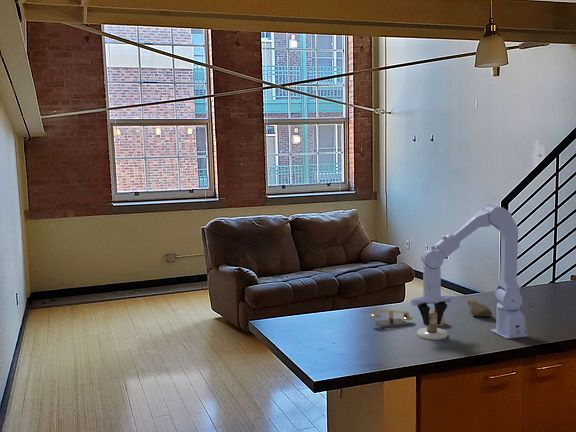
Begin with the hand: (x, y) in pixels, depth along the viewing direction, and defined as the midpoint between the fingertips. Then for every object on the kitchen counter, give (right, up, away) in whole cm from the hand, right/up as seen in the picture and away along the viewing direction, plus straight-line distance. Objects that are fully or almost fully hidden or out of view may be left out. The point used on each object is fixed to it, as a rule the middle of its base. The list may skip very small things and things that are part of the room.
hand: (431, 324), depth 200 cm
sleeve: (+5, -2, +14) cm, 15 cm away
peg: (0, -3, 0) cm, 3 cm away
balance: (-11, -3, +14) cm, 18 cm away
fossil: (+23, -1, +22) cm, 32 cm away
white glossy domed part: (0, -4, 0) cm, 4 cm away
